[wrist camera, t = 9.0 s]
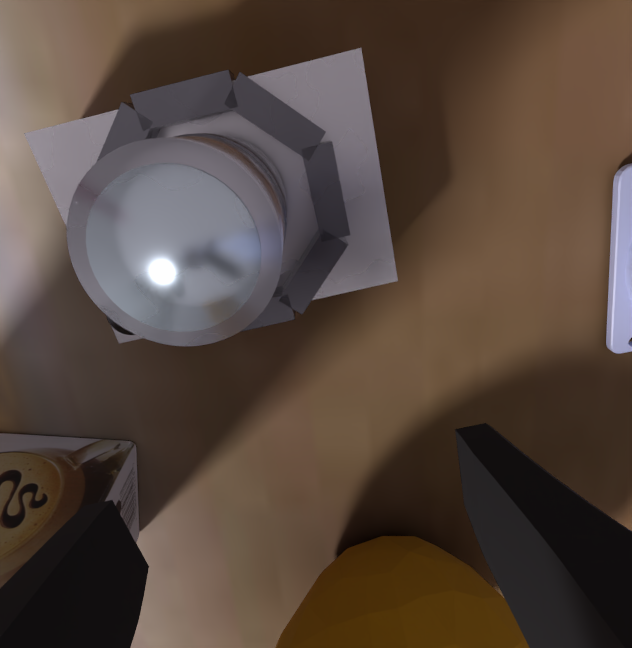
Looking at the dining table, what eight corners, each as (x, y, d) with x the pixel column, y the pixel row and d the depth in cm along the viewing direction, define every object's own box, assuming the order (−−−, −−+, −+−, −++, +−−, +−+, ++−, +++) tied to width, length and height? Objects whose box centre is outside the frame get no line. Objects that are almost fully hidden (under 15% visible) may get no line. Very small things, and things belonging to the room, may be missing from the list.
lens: (277, 124, 13) (266, 120, 8) (295, 259, 15) (297, 338, 9) (139, 141, 13) (24, 150, 8) (173, 274, 15) (99, 362, 9)
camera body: (348, 57, 15) (365, 34, 11) (383, 261, 18) (405, 294, 14) (69, 128, 16) (0, 127, 12) (146, 314, 19) (109, 360, 15)
